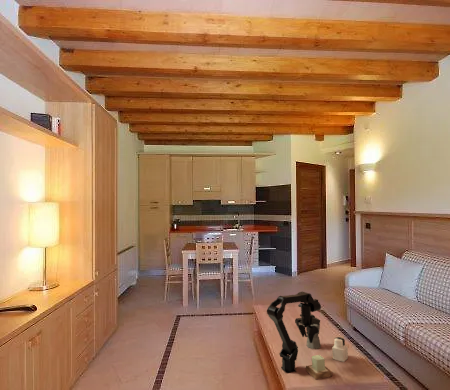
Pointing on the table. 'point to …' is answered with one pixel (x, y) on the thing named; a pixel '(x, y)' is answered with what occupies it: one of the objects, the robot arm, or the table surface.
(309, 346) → the coffeepot
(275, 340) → the table surface
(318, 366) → the sage block
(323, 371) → the walnut base
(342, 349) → the medicine bottle
